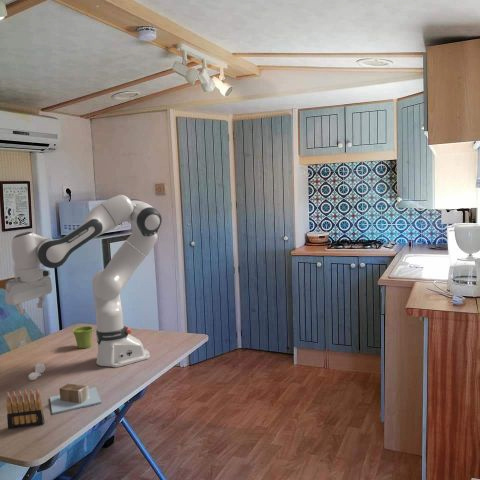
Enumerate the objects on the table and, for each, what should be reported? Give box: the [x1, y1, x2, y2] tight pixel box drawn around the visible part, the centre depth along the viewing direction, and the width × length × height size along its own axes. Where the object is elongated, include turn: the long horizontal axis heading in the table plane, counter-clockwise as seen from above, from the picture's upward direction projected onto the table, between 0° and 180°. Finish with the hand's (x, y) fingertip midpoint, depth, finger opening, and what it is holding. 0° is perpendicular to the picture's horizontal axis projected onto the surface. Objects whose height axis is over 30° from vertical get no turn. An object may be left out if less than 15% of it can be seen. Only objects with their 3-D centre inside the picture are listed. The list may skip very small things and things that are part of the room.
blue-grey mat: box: [49, 386, 102, 415], centre depth 174 cm, size 16×14×1 cm
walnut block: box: [58, 383, 90, 403], centre depth 174 cm, size 4×4×9 cm
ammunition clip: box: [5, 388, 45, 430], centre depth 157 cm, size 11×2×12 cm, turn 100°
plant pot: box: [72, 325, 94, 349], centre depth 233 cm, size 9×9×9 cm
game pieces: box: [28, 362, 46, 381], centre depth 201 cm, size 12×3×3 cm, turn 5°
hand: (31, 310), depth 188 cm, fingers open, 8 cm apart
